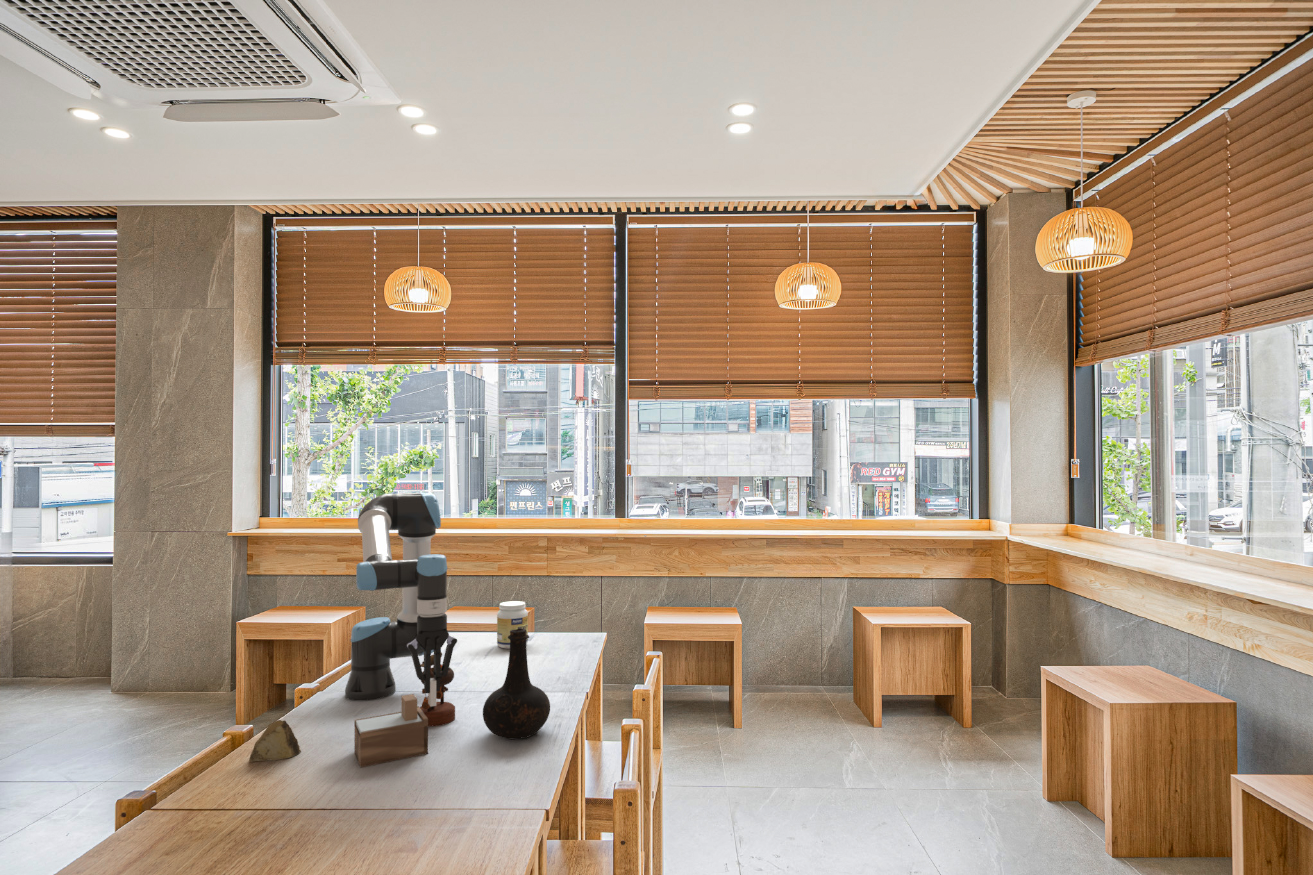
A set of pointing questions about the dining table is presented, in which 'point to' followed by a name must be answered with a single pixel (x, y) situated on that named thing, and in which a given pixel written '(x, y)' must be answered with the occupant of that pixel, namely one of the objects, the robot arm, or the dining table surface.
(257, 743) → the rock
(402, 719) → the lid
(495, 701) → the glass bottle
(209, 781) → the dining table surface
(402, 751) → the box
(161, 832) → the dining table surface
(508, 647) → the supplement tub
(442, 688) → the wooden bird figurine
